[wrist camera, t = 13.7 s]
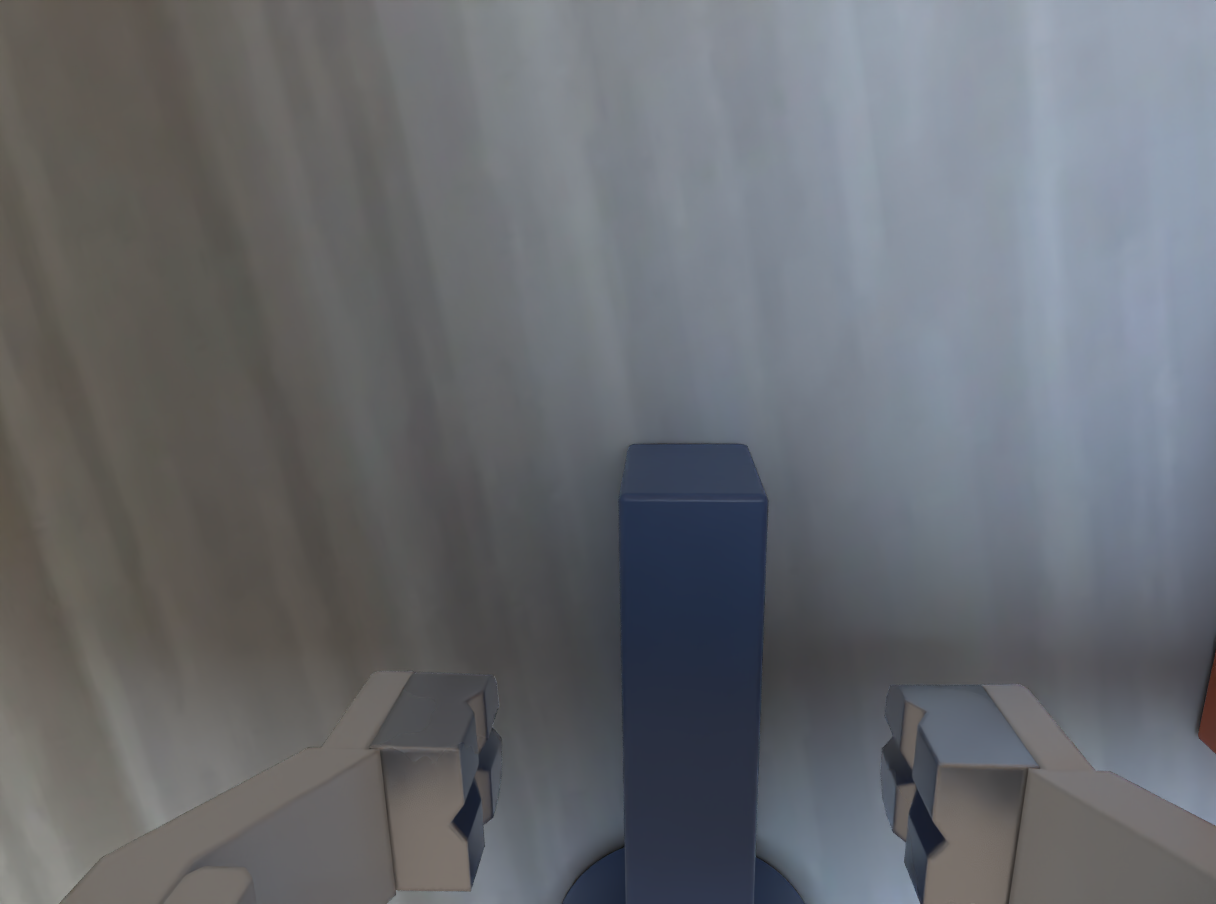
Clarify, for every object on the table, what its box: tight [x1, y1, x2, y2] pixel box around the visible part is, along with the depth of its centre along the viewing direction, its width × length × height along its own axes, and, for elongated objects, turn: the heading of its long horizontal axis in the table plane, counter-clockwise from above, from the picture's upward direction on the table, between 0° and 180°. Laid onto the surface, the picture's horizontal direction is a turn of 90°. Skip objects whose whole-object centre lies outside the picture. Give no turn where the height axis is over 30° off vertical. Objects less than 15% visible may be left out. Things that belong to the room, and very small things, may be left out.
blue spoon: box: [562, 444, 804, 904], centre depth 11 cm, size 10×4×2 cm, turn 1°
